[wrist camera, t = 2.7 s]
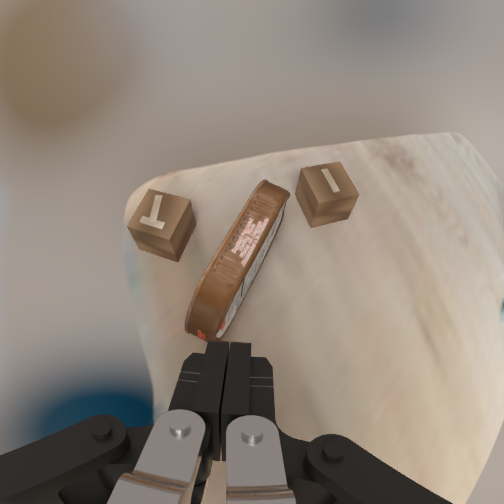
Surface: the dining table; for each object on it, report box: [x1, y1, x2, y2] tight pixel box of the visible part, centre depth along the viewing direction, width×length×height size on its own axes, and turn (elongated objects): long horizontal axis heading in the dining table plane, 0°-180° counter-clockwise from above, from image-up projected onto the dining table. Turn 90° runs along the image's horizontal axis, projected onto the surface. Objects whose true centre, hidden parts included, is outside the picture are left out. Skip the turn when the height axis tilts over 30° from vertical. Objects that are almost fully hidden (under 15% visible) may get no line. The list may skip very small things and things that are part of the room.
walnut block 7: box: [127, 189, 196, 262], centre depth 31 cm, size 4×4×5 cm
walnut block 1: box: [295, 162, 359, 228], centre depth 33 cm, size 4×4×5 cm
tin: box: [185, 180, 290, 342], centre depth 27 cm, size 15×3×8 cm, turn 155°
